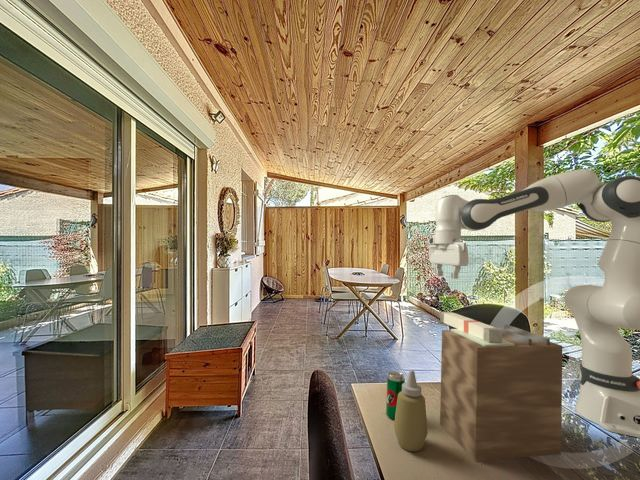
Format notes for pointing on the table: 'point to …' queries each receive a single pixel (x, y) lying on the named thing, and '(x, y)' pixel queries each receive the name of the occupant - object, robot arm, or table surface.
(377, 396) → the table surface
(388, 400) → the soda can
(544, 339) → the cabinet
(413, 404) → the squeeze bottle
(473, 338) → the plate
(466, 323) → the red-banded cream beam
